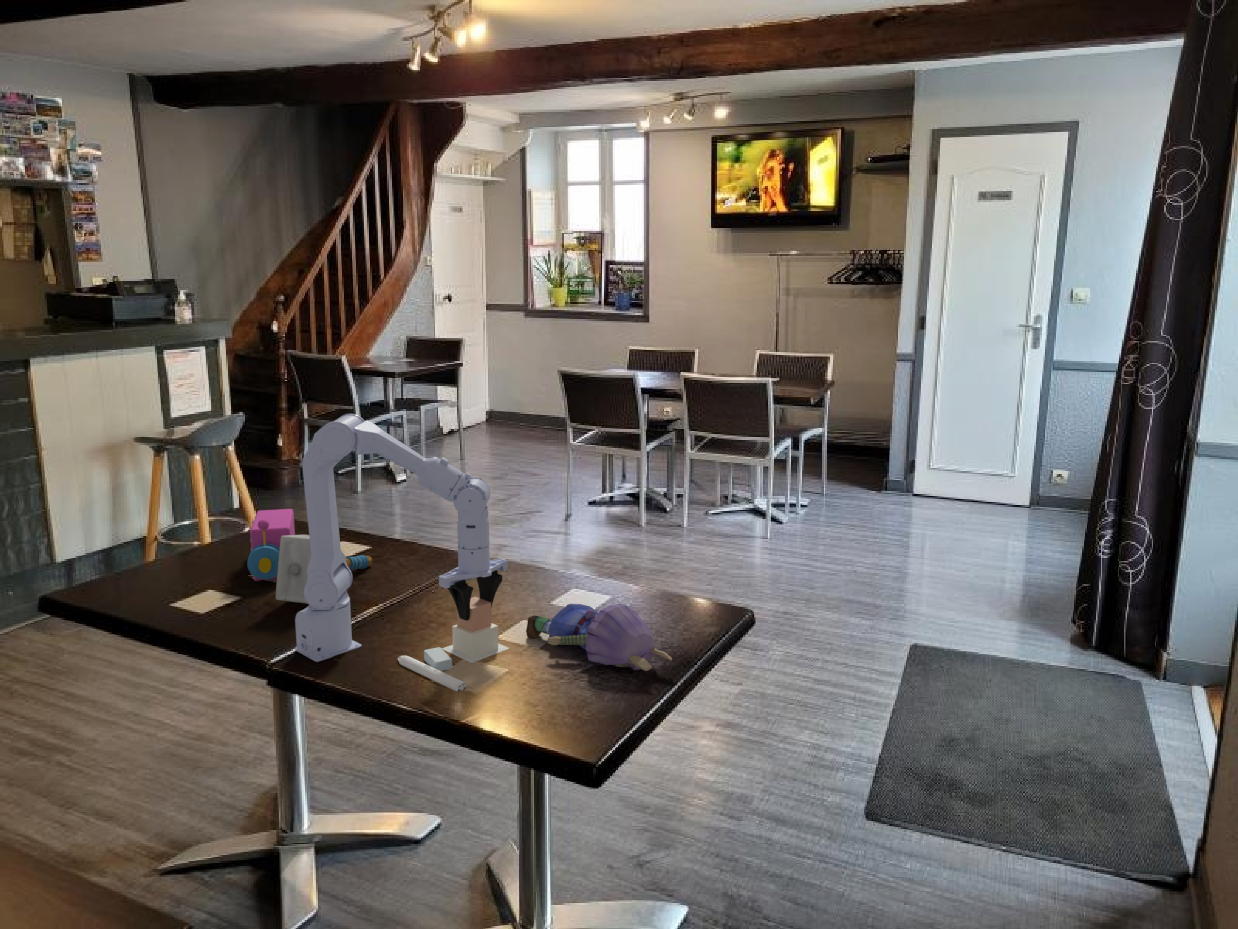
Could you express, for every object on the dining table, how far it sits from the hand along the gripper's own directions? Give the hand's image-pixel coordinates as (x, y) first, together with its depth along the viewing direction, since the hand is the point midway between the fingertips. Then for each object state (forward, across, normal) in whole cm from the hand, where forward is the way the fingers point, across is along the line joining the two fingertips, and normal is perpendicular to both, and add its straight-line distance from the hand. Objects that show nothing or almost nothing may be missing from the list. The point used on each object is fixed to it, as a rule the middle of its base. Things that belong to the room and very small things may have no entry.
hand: (475, 615), depth 170 cm
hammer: (+7, 0, +50) cm, 51 cm away
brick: (+7, -9, 0) cm, 12 cm away
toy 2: (+8, +15, -18) cm, 25 cm away
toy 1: (+7, -3, +71) cm, 71 cm away
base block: (+7, 0, 0) cm, 7 cm away
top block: (+2, 0, 0) cm, 2 cm away
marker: (+8, -13, -3) cm, 15 cm away
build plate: (+7, 0, 0) cm, 7 cm away
